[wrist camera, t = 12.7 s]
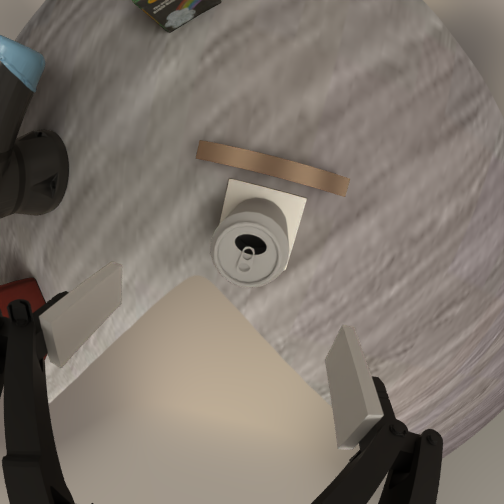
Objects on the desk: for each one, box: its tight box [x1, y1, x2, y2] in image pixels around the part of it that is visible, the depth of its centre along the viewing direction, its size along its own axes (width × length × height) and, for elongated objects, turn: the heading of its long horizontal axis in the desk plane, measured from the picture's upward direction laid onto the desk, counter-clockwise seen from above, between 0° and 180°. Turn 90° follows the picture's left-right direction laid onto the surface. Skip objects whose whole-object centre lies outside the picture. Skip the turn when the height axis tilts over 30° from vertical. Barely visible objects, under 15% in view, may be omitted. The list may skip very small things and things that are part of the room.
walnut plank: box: [196, 140, 350, 197], centre depth 31 cm, size 16×2×7 cm, turn 76°
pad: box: [219, 178, 307, 270], centre depth 36 cm, size 10×10×1 cm
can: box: [210, 198, 289, 288], centre depth 30 cm, size 8×8×12 cm
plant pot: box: [0, 278, 48, 360], centre depth 40 cm, size 19×19×17 cm
